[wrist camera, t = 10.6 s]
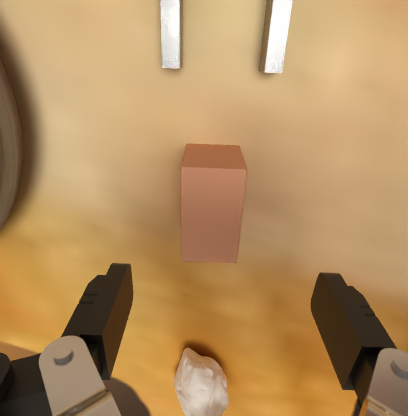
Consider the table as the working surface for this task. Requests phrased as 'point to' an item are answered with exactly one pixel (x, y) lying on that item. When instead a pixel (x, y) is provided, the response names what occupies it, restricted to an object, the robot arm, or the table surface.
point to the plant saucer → (9, 148)
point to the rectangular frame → (271, 44)
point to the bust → (200, 385)
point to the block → (211, 202)
